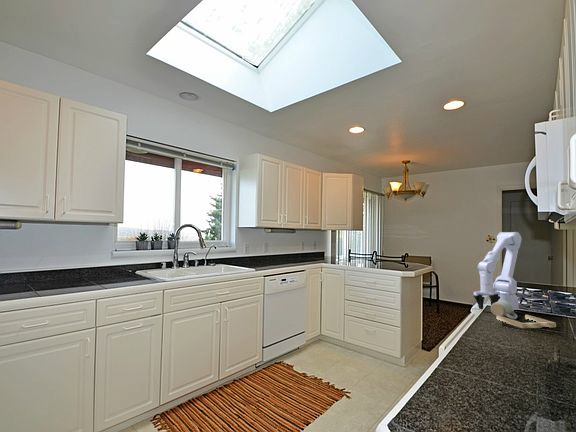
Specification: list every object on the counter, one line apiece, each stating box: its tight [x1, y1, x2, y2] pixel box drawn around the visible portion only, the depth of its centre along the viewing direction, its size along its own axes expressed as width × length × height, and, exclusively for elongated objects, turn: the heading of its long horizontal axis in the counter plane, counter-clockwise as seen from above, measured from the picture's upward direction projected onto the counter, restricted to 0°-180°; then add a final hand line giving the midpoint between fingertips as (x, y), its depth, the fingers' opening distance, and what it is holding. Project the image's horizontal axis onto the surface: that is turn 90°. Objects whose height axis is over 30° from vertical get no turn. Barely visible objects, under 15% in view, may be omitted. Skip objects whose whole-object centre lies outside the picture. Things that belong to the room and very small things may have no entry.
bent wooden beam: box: [495, 314, 557, 329], centre depth 141 cm, size 17×14×2 cm
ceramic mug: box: [490, 300, 518, 320], centre depth 153 cm, size 11×8×8 cm
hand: (487, 308), depth 163 cm, fingers open, 7 cm apart
